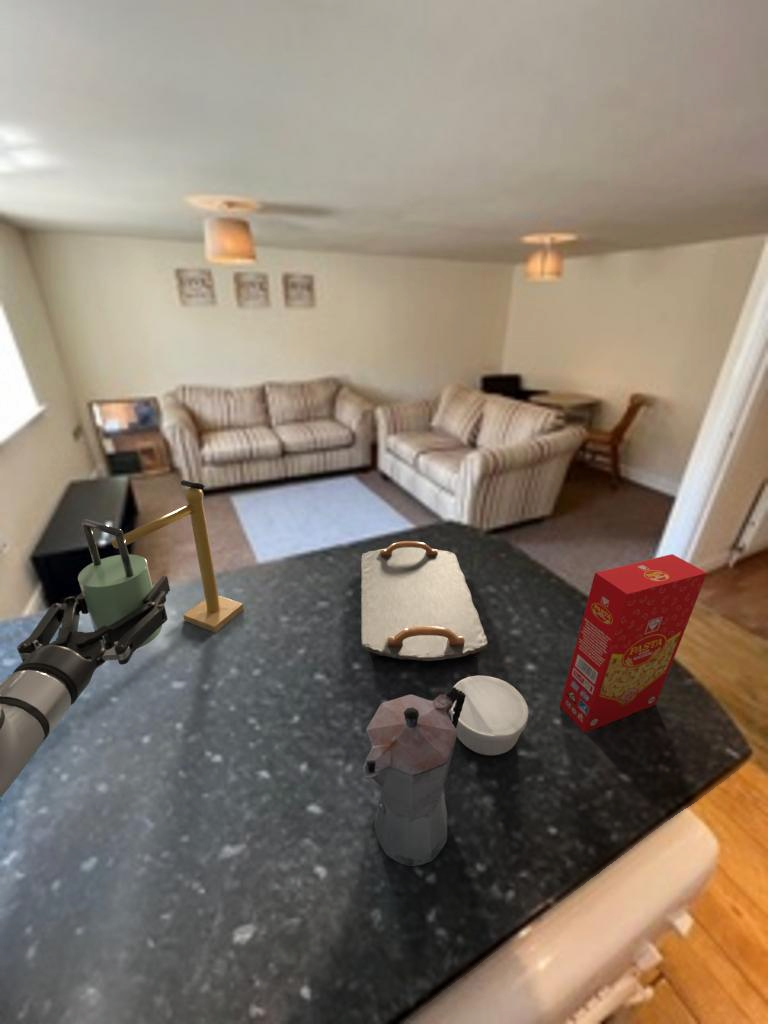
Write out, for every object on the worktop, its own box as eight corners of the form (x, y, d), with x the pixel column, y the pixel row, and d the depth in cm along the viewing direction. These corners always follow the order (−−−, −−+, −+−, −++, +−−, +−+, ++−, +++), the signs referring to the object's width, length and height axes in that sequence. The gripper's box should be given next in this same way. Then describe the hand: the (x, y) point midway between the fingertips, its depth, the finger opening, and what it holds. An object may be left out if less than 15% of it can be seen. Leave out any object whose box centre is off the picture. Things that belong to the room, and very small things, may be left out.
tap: (129, 661, 78) (87, 512, 66) (213, 599, 94) (192, 471, 82) (163, 676, 75) (125, 523, 63) (244, 609, 91) (226, 478, 79)
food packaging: (584, 732, 67) (627, 594, 56) (559, 705, 71) (595, 572, 60) (655, 704, 72) (707, 572, 61) (628, 681, 76) (672, 554, 65)
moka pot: (337, 842, 52) (333, 722, 44) (420, 755, 63) (430, 644, 54) (399, 912, 46) (408, 788, 38) (479, 803, 57) (500, 687, 48)
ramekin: (431, 732, 66) (434, 706, 64) (469, 687, 74) (473, 663, 72) (501, 780, 60) (506, 753, 57) (534, 725, 67) (540, 700, 65)
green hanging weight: (85, 642, 70) (48, 530, 61) (135, 609, 77) (108, 506, 69) (125, 660, 66) (91, 545, 58) (174, 624, 74) (150, 518, 65)
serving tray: (360, 556, 111) (361, 534, 109) (452, 556, 113) (455, 534, 110) (360, 672, 76) (360, 644, 74) (494, 670, 78) (498, 642, 75)
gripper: (-41, 712, 54) (75, 600, 74) (140, 714, 54) (206, 602, 75) (-66, 665, 51) (62, 561, 71) (127, 667, 51) (199, 564, 72)
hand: (136, 582), depth 73 cm, fingers closed on green hanging weight, 9 cm apart
